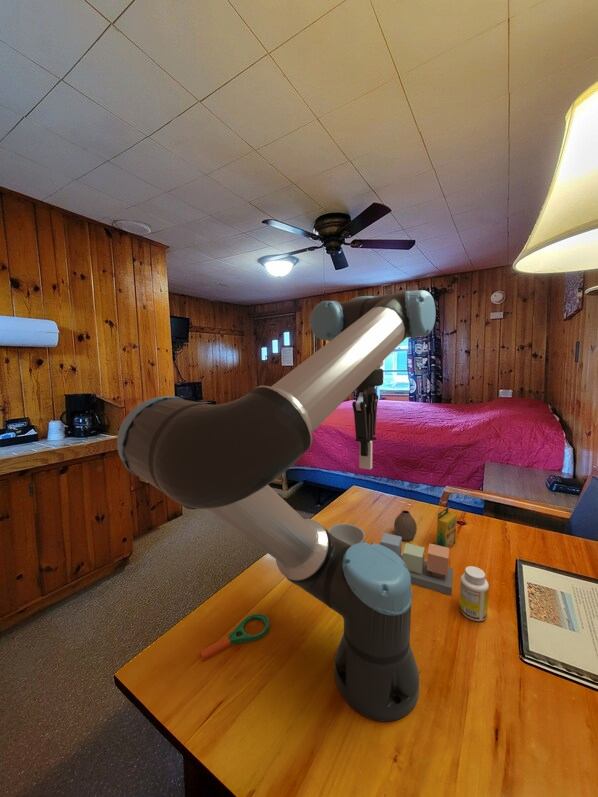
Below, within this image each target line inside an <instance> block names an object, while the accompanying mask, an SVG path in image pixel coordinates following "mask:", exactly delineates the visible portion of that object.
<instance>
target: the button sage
mask: <svg viewBox="0 0 598 797" xmlns="http://www.w3.org/2000/svg"><path fill="white" fill-rule="evenodd" d="M425 549H426V548H425V546H419V545H415V544H411V543H408V542H406V543H405V546H404V548H403V552H402V555H403V561H404V563H405V564H406V566H407V569H408V571H412V572H415V573H419V574H422V571H423V566H424V561H425Z"/></svg>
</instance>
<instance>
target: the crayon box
mask: <svg viewBox="0 0 598 797" xmlns="http://www.w3.org/2000/svg"><path fill="white" fill-rule="evenodd" d="M449 509H450V506H447V507H446V508H444V509H443V510H441V511H440V512H438V513H437V520H436V521H437V522H436V538H435V540H436V541H435V545H439V546H443V547H447V548H449V550H450V549H451V548H453V546H454V545H455V544H456V536H457V519H458V518H457V517H458V515H457V514H456V513H453V512H450V511H449Z"/></svg>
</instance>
